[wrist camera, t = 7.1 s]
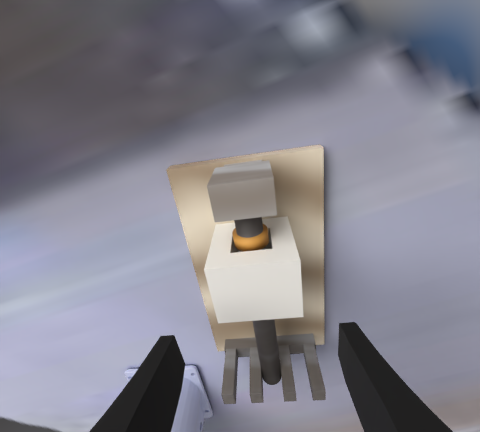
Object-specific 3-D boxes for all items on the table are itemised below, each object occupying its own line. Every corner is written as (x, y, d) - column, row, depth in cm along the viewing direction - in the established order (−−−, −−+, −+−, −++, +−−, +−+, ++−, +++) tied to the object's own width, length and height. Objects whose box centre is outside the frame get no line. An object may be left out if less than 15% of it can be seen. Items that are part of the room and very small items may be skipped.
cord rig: (321, 335, 24) (341, 402, 19) (219, 342, 25) (210, 407, 20) (319, 144, 16) (351, 169, 11) (170, 165, 17) (136, 197, 12)
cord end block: (291, 263, 19) (303, 317, 14) (225, 269, 19) (218, 323, 15) (287, 216, 17) (300, 260, 13) (215, 224, 18) (203, 269, 13)
